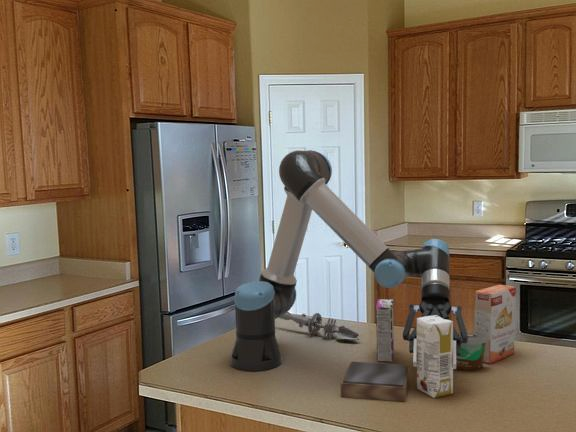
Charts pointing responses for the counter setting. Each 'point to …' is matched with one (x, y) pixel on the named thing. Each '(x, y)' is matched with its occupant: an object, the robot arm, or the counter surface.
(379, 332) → the candy bar box
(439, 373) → the juice carton
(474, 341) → the food container
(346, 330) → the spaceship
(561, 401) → the counter surface
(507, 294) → the cracker box
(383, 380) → the grey brown square slab
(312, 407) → the counter surface
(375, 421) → the counter surface
